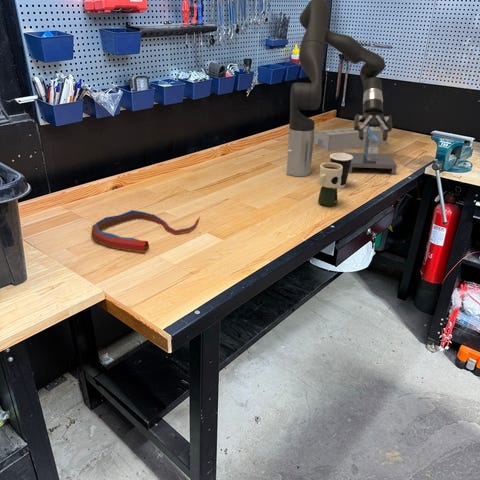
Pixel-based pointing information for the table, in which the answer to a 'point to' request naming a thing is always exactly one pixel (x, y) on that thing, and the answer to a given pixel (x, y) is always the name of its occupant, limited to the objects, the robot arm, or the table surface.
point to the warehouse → (345, 138)
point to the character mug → (329, 182)
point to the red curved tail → (125, 242)
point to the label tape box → (371, 146)
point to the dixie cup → (345, 162)
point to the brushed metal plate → (381, 162)
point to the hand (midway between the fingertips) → (373, 139)
